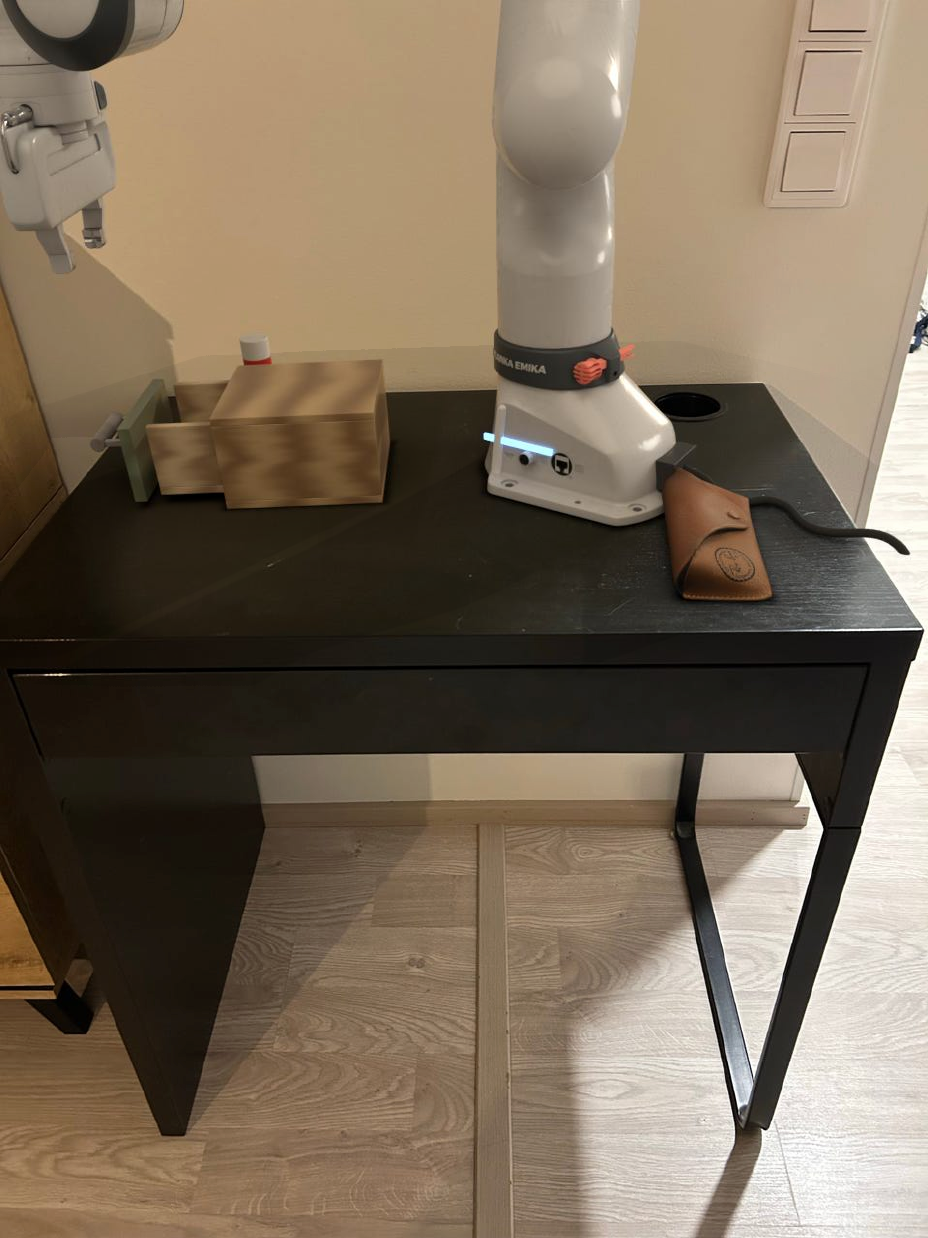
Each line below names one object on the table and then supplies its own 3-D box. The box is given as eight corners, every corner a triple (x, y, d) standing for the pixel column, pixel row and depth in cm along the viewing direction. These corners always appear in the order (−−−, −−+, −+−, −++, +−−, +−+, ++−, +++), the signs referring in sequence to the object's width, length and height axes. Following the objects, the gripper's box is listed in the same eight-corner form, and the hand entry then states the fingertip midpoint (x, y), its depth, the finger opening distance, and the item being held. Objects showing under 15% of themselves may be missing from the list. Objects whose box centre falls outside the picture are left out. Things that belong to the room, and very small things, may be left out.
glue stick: (286, 419, 114) (273, 336, 109) (264, 427, 112) (250, 344, 107) (270, 412, 116) (256, 331, 110) (248, 421, 114) (233, 338, 109)
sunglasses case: (780, 597, 78) (747, 535, 75) (700, 631, 80) (665, 572, 77) (747, 495, 92) (719, 439, 89) (680, 526, 95) (650, 473, 92)
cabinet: (227, 509, 96) (208, 418, 90) (252, 447, 108) (237, 365, 102) (382, 502, 95) (373, 412, 90) (390, 442, 107) (382, 358, 102)
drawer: (92, 503, 96) (71, 431, 91) (129, 447, 107) (112, 380, 102) (279, 496, 96) (267, 423, 91) (297, 440, 107) (287, 373, 102)
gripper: (35, 113, 77) (78, 288, 85) (111, 85, 94) (142, 233, 102) (-43, 115, 77) (8, 289, 85) (47, 87, 94) (83, 235, 102)
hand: (81, 258), depth 93 cm, fingers open, 8 cm apart
